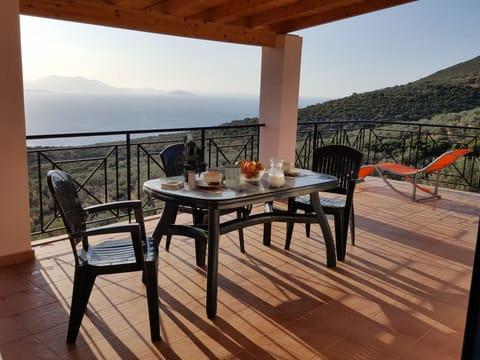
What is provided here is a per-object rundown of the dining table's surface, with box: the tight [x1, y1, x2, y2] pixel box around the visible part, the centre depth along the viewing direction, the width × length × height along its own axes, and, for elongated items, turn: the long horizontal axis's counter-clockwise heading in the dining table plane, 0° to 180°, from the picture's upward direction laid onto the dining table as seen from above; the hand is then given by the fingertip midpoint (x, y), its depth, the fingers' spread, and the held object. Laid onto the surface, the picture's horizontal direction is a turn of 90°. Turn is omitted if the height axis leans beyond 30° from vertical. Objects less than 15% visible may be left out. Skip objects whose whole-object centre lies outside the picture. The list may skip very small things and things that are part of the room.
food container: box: [207, 166, 225, 185], centre depth 301 cm, size 12×6×10 cm, turn 71°
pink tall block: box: [187, 172, 196, 190], centre depth 282 cm, size 5×4×10 cm
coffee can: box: [224, 163, 242, 189], centre depth 289 cm, size 10×10×14 cm
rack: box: [160, 180, 185, 191], centre depth 283 cm, size 12×10×3 cm
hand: (191, 177), depth 280 cm, fingers open, 9 cm apart
